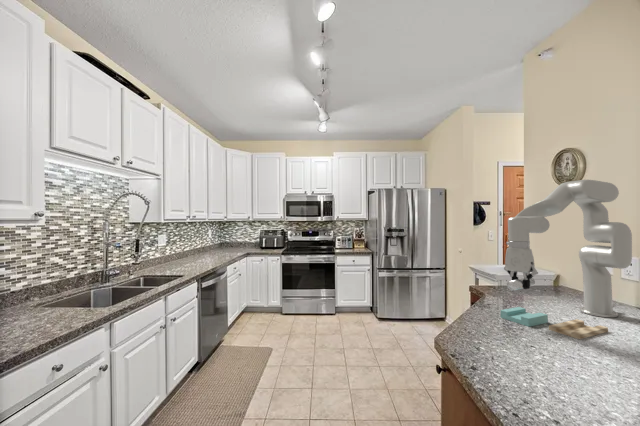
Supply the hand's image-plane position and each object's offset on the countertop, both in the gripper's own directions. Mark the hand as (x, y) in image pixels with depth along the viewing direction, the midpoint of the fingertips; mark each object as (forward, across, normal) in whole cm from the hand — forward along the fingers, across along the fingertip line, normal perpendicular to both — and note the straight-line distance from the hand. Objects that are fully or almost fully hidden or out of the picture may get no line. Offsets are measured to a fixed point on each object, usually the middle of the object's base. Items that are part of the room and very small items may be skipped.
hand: (520, 287), depth 122 cm
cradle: (+15, 0, +1) cm, 15 cm away
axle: (0, 0, 0) cm, 1 cm away
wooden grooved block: (+15, +16, +8) cm, 23 cm away
